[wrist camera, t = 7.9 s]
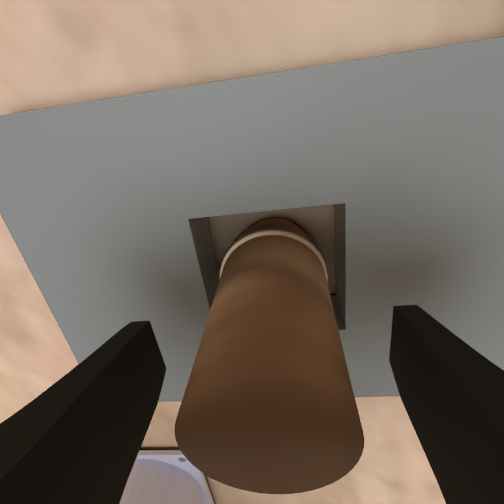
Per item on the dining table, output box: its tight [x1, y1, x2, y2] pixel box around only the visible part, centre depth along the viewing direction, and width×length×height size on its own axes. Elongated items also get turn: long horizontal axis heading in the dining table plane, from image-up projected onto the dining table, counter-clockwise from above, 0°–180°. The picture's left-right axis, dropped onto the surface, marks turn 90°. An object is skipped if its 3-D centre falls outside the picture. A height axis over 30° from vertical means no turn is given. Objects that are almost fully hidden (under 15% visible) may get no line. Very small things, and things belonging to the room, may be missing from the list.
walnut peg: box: [175, 218, 364, 494], centre depth 11 cm, size 4×4×9 cm
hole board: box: [0, 37, 504, 402], centre depth 14 cm, size 20×14×2 cm
